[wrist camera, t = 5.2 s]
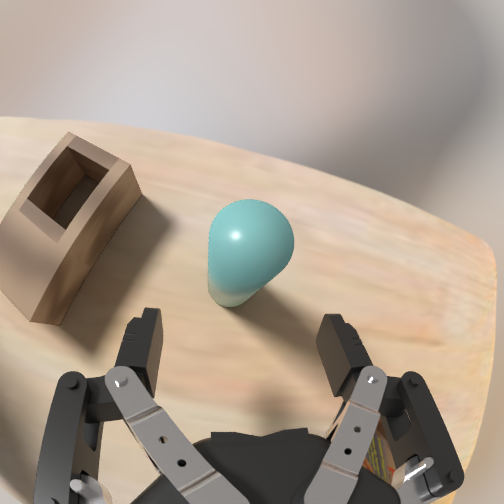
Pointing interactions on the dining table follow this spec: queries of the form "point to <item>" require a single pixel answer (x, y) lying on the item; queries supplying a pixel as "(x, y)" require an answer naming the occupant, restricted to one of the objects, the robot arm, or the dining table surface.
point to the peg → (246, 250)
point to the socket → (61, 228)
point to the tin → (380, 456)
